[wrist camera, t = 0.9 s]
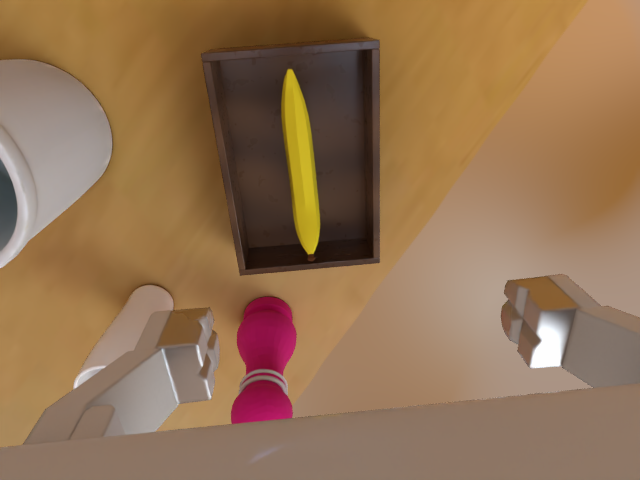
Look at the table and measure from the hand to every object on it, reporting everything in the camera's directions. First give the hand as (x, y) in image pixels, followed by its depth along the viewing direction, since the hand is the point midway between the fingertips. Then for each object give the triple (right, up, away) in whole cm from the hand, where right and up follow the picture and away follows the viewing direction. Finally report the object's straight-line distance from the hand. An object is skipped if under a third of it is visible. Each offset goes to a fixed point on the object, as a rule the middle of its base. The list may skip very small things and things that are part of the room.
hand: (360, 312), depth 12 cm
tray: (-3, +11, +35) cm, 37 cm away
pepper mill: (-8, -8, +45) cm, 46 cm away
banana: (-3, +11, +35) cm, 37 cm away
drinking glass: (-22, -5, +42) cm, 48 cm away
